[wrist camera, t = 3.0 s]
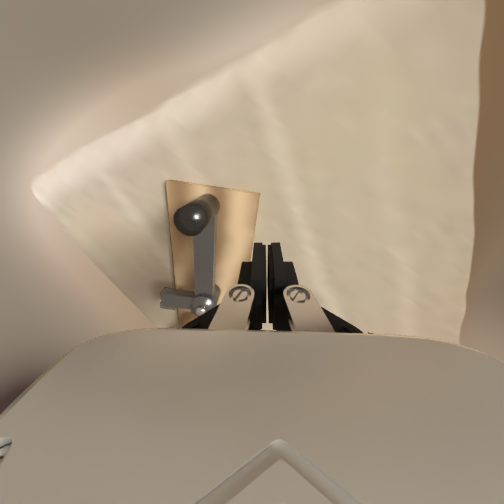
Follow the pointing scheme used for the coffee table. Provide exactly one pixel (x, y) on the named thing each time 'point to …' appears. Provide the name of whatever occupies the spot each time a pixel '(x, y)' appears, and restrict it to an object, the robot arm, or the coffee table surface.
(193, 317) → the walnut
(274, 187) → the coffee table surface
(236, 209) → the tan wooden panel
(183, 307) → the lever
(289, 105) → the coffee table surface
